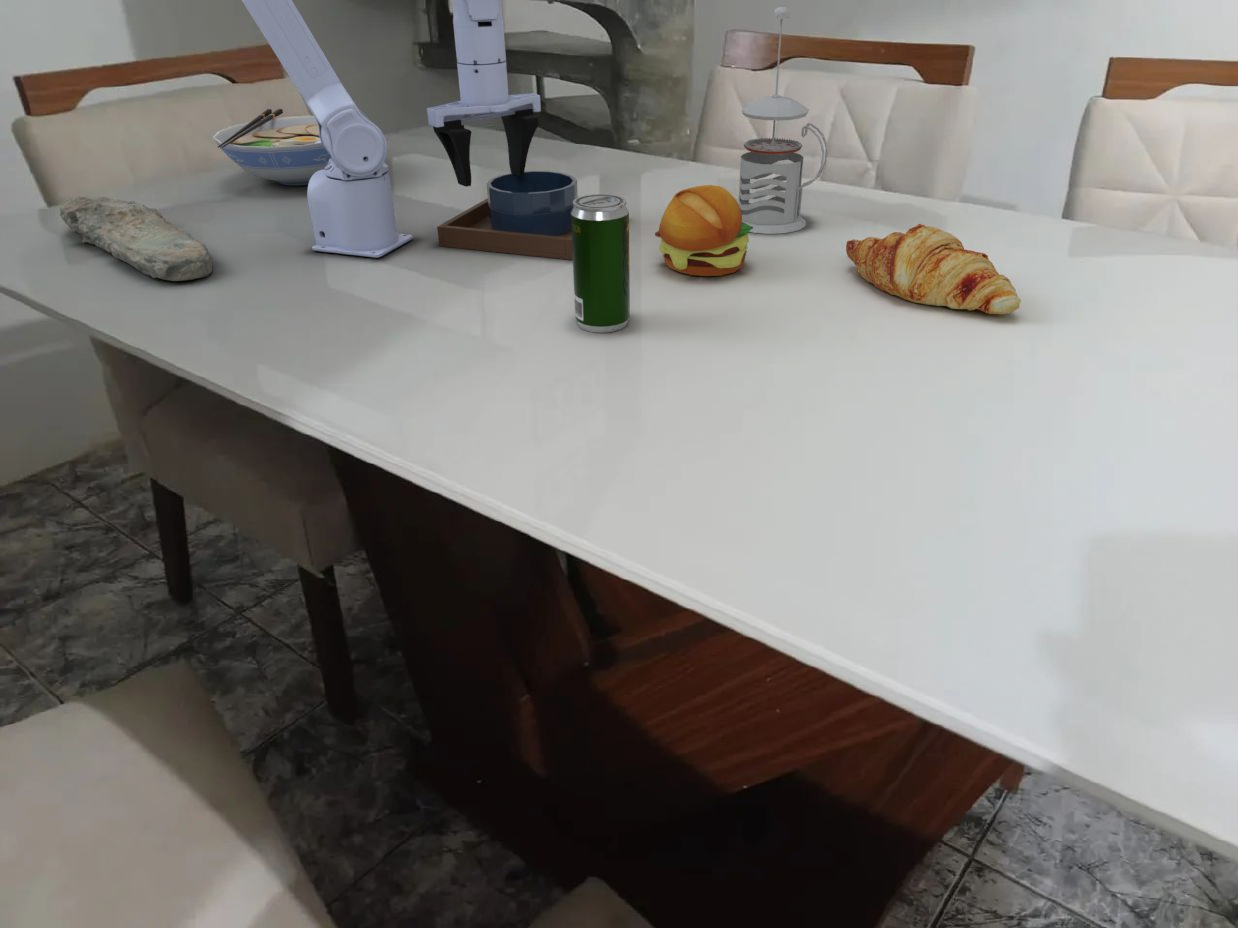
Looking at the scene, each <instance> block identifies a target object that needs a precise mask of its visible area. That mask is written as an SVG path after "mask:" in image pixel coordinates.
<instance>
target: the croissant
mask: <svg viewBox="0 0 1238 928" xmlns="http://www.w3.org/2000/svg"><path fill="white" fill-rule="evenodd" d="M845 252H846V255H847V258H849V260H851V262H852V263H853V264H854V265H855V267H856V269H857V271H858V273H859V275H860V276H861V278H863V279H864V280H865V281H866V282H868V283H872V284H873V285H874V286H875V287H876V288H878V289H879V290H881V291H883V292H885V293H887V294H889V295H891V296H896V297H899V298H901V299H904V300H906V301H908V302H912V303H916V304H922V305H928V306H937V307H947V308H950V309H952V310H967V311H975V310H979V311H981V312H983V313H986V314H989V315H1005V314H1009V313H1013V312H1015V311H1017V310H1018V309H1020V305H1021V299H1020V297H1019V296H1018V294H1017V291H1016V288H1015V286H1014V285H1013V284H1012V282H1011V280H1010V279H1009V278H1008V277H1007V276H1005V275H1004V274H1000V273H999V272H998V270H997V268H996V267H995V265H994V264H993V262H992V261H991V260H989V255H988V254H986V253H985V252H979V251H974V250H971V249H965V247H964V245H963V242H962V241H960V239H959V238H957V237H956V236H954V234H952V233H949V232H947V231H944V230H941V228H938V227H934V226H927V225H925V224H922V223H918V224H917V225H915V226H913V227H911V228H909V229H908V230H907V231H906V232H905V233H904V232H900V231H894V232H893V231H892V232H891V233H890V234H888V235H886V236H884V238H880V237H872V236H870V237H869V236H868V237H865V238H864V239H862V240H861V239H860V240H859V239H851V240H847V242H846V246H845Z"/></svg>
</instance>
